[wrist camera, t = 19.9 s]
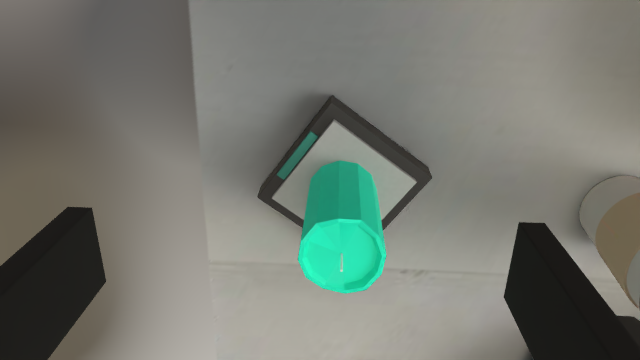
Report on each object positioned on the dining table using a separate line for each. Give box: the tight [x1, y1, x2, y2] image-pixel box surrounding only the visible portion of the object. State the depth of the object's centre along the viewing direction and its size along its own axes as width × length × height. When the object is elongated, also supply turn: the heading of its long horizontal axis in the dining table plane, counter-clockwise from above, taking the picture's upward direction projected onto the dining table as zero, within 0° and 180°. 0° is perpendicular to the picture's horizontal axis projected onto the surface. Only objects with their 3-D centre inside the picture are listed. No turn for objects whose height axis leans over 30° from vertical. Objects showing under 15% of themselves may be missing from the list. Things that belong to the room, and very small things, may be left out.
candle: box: [298, 160, 386, 293], centre depth 37 cm, size 6×6×12 cm
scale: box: [258, 95, 432, 230], centre depth 44 cm, size 11×11×3 cm
